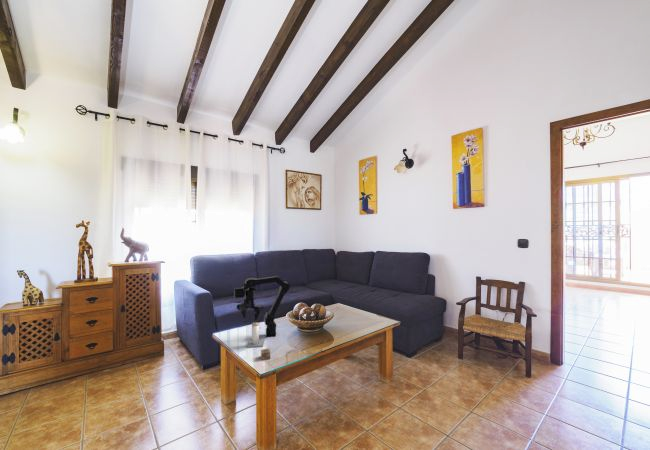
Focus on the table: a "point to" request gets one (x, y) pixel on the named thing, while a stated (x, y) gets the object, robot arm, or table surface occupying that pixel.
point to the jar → (255, 333)
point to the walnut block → (265, 354)
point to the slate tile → (260, 344)
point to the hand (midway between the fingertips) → (250, 319)
